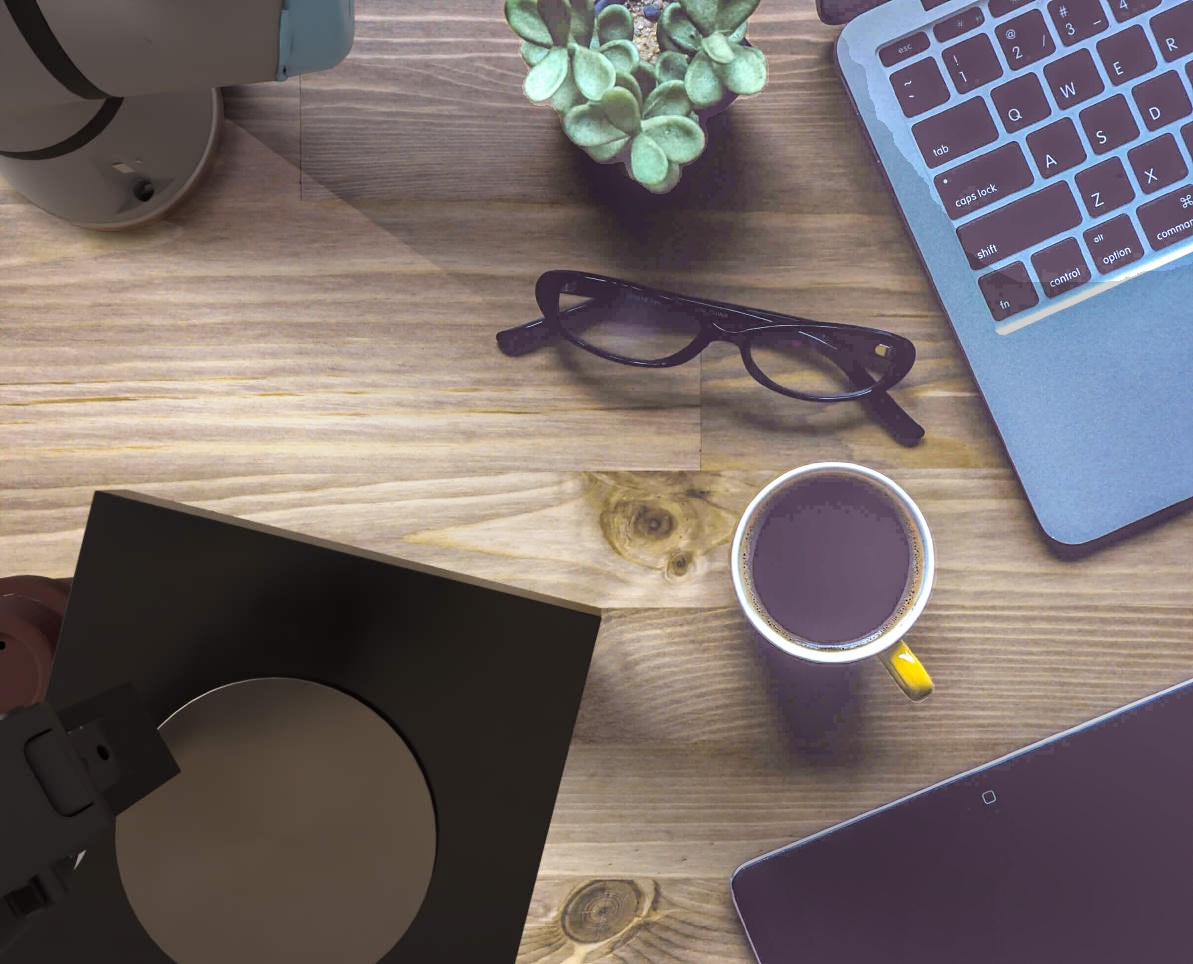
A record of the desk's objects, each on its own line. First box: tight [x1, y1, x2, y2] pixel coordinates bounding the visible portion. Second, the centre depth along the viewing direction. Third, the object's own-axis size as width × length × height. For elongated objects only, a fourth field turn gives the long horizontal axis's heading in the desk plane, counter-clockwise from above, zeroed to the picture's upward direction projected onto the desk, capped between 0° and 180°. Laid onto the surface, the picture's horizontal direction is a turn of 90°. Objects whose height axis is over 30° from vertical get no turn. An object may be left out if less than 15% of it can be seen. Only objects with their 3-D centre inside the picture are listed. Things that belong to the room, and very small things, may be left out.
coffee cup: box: [0, 574, 74, 715], centre depth 53 cm, size 10×10×15 cm
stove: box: [0, 488, 603, 964], centre depth 31 cm, size 20×18×4 cm
